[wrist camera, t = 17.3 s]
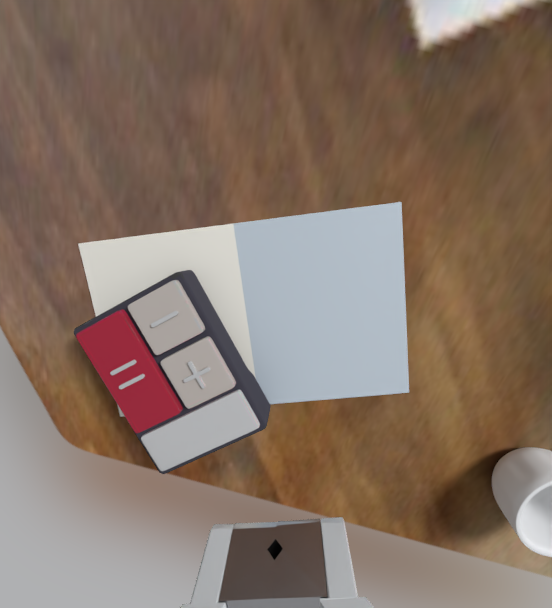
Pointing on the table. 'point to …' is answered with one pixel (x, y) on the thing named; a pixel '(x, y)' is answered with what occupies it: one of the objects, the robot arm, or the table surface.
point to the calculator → (175, 372)
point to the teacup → (526, 495)
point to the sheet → (285, 295)
